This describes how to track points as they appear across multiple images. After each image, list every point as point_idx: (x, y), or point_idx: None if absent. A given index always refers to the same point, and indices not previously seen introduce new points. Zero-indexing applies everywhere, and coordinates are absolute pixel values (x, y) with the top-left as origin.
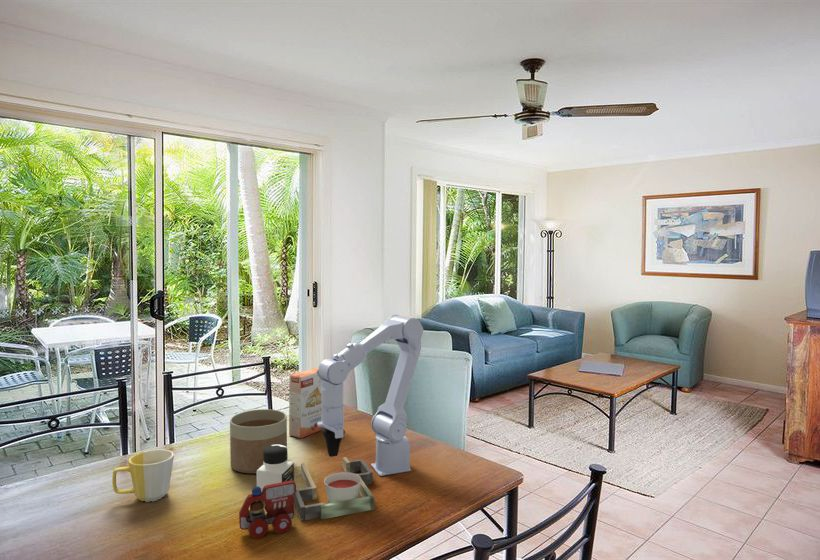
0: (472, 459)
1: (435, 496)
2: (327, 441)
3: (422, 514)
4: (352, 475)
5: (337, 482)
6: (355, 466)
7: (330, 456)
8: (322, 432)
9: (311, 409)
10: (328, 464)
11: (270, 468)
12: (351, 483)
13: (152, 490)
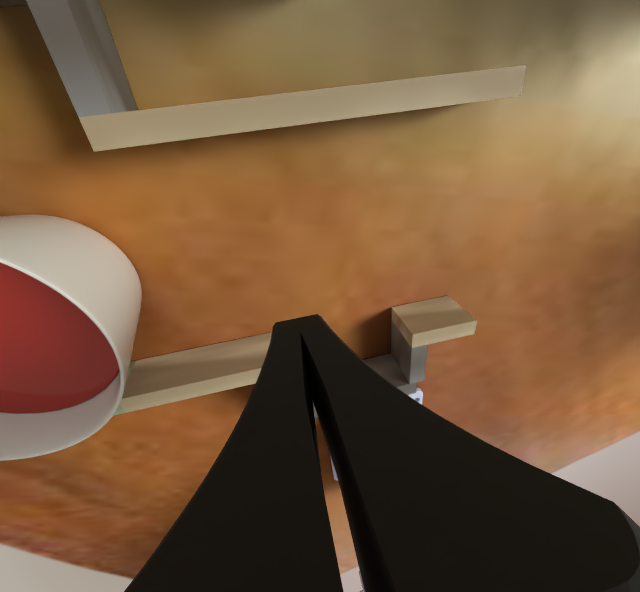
0: (356, 559)
1: (158, 523)
2: (200, 487)
3: (23, 507)
4: (108, 405)
5: (74, 308)
6: (400, 353)
7: (274, 329)
8: (441, 582)
9: None
10: (508, 239)
11: None
12: (67, 380)
13: None
